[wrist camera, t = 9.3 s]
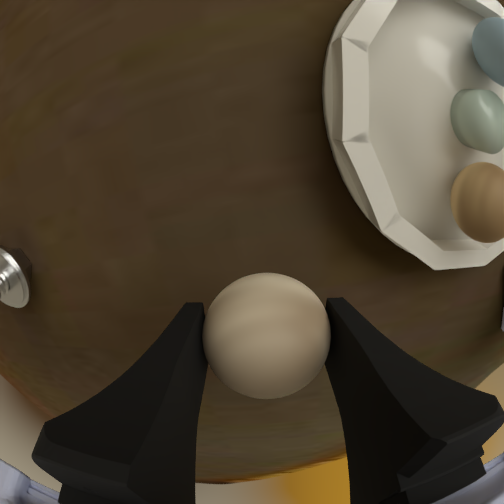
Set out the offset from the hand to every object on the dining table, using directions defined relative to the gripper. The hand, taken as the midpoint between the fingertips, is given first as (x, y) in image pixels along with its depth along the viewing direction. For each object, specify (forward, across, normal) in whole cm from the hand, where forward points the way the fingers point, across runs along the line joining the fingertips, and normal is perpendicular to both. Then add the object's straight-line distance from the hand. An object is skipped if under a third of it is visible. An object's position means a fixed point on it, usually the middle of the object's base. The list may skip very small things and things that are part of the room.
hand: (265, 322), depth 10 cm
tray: (+6, -12, -8) cm, 16 cm away
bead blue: (+5, -14, -13) cm, 20 cm away
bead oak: (+5, -12, -4) cm, 14 cm away
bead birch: (+2, 0, 0) cm, 2 cm away
